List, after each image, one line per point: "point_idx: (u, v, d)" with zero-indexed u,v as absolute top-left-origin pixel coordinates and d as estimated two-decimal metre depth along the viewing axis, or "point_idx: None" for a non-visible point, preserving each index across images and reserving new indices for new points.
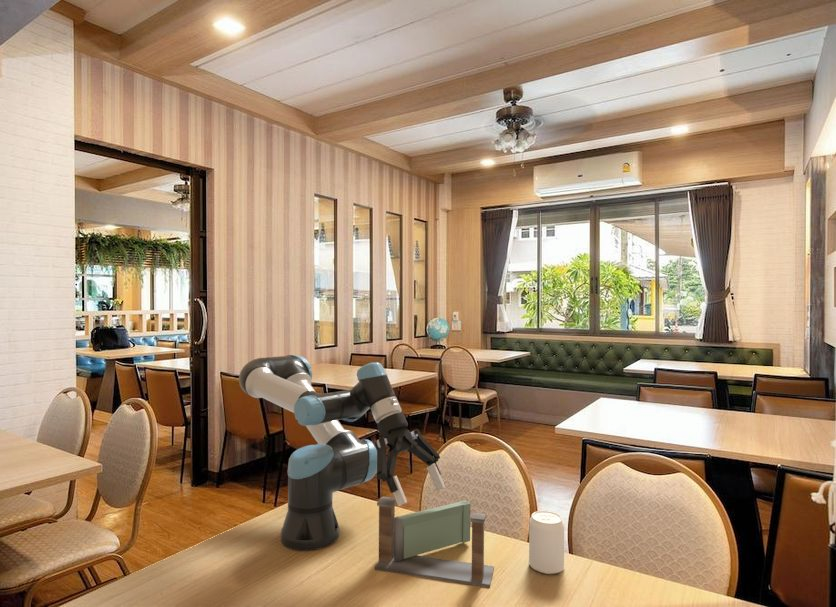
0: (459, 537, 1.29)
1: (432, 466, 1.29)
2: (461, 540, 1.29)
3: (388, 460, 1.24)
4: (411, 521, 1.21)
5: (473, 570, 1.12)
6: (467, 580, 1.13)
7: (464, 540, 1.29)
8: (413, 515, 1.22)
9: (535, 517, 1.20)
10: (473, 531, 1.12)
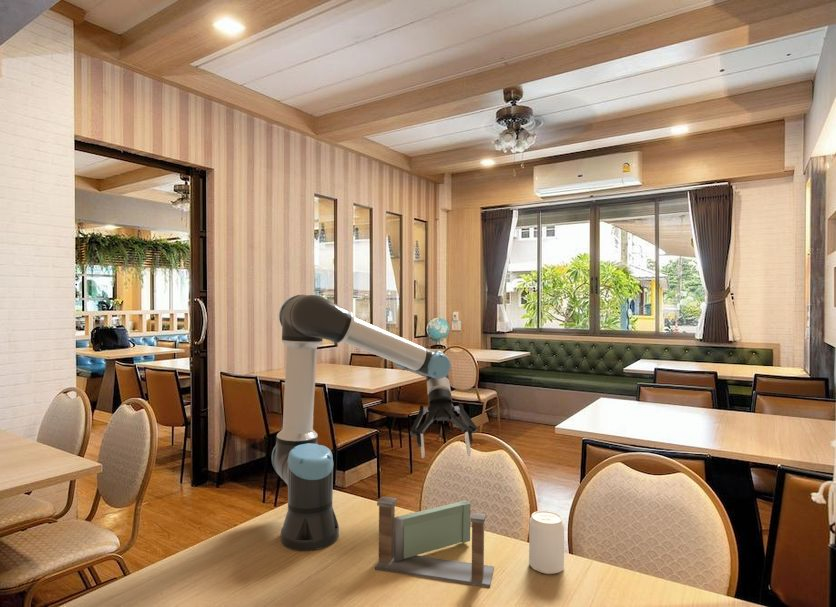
0: (459, 537, 1.29)
1: None
2: (461, 540, 1.29)
3: None
4: (411, 521, 1.21)
5: (473, 570, 1.12)
6: (467, 580, 1.13)
7: (464, 540, 1.29)
8: (413, 515, 1.22)
9: (535, 517, 1.20)
10: (473, 531, 1.12)
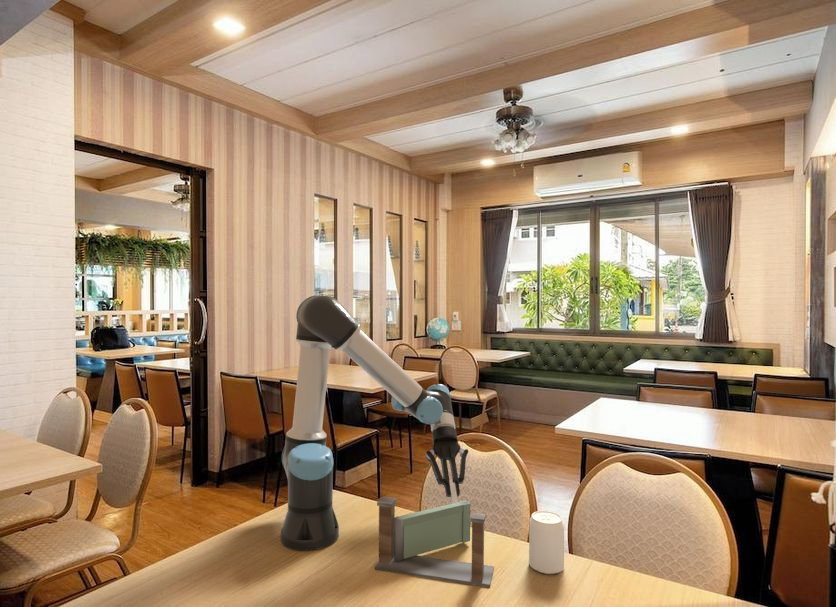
0: (459, 537, 1.29)
1: None
2: (461, 540, 1.29)
3: None
4: (411, 521, 1.21)
5: (473, 570, 1.12)
6: (467, 580, 1.13)
7: (464, 540, 1.29)
8: (413, 515, 1.22)
9: (535, 517, 1.20)
10: (473, 531, 1.12)
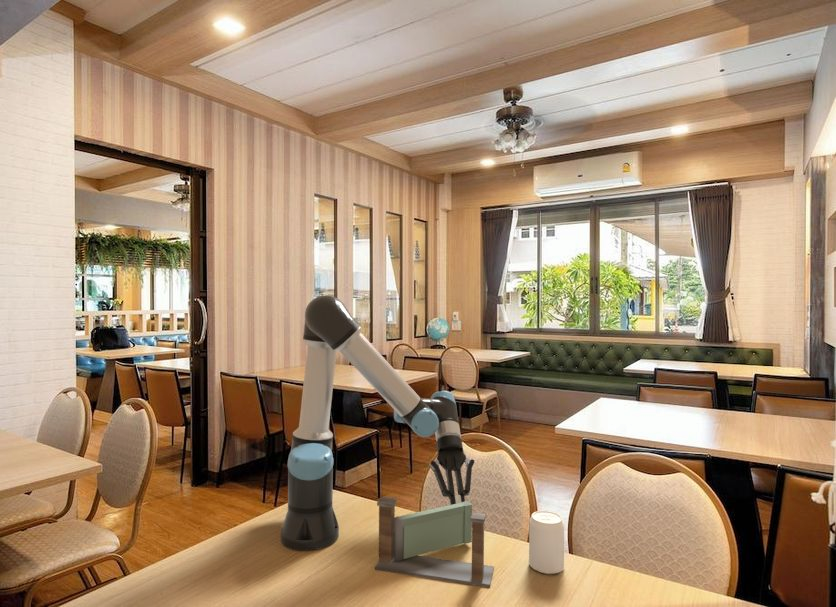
0: (460, 538, 1.29)
1: None
2: (462, 541, 1.29)
3: None
4: (411, 521, 1.21)
5: (473, 570, 1.12)
6: (467, 580, 1.13)
7: (465, 541, 1.29)
8: (413, 515, 1.22)
9: (535, 517, 1.20)
10: (473, 531, 1.12)
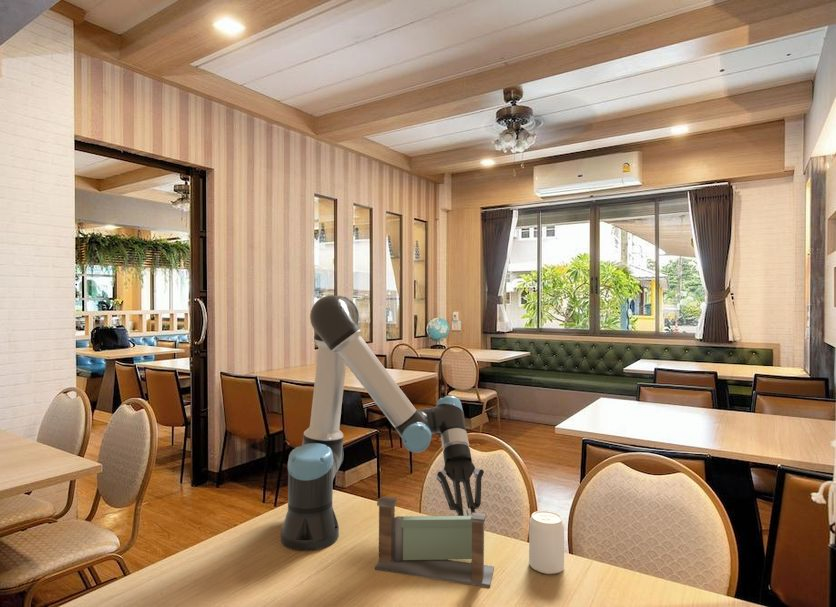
0: (470, 553, 1.21)
1: None
2: None
3: None
4: (411, 524, 1.20)
5: (473, 570, 1.12)
6: (467, 580, 1.13)
7: None
8: (414, 518, 1.21)
9: (535, 517, 1.20)
10: (473, 531, 1.12)
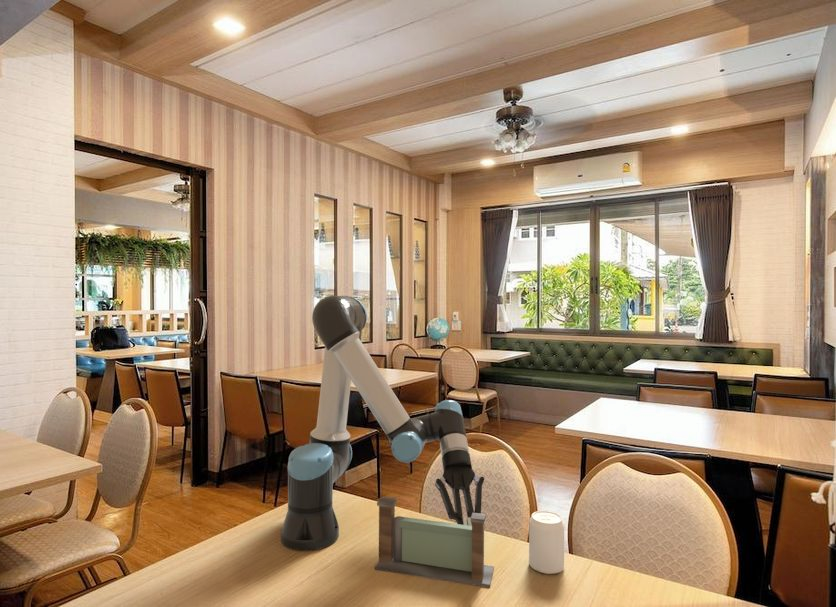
0: (469, 565, 1.16)
1: None
2: (471, 569, 1.15)
3: None
4: (409, 525, 1.19)
5: (473, 570, 1.12)
6: (467, 580, 1.13)
7: None
8: (413, 520, 1.19)
9: (535, 517, 1.20)
10: (473, 531, 1.12)
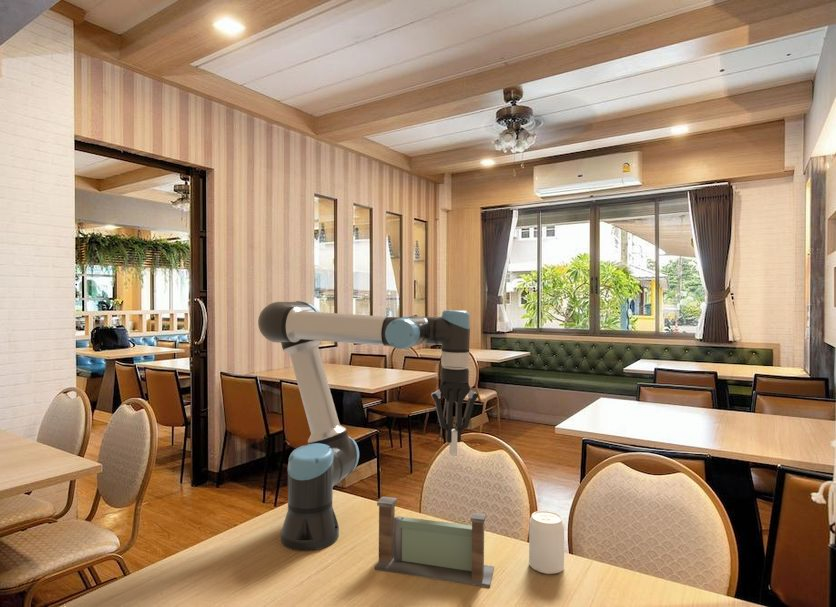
0: (469, 564, 1.16)
1: None
2: None
3: None
4: (409, 525, 1.19)
5: (473, 570, 1.12)
6: (467, 580, 1.13)
7: None
8: (413, 520, 1.20)
9: (535, 517, 1.20)
10: (473, 531, 1.12)
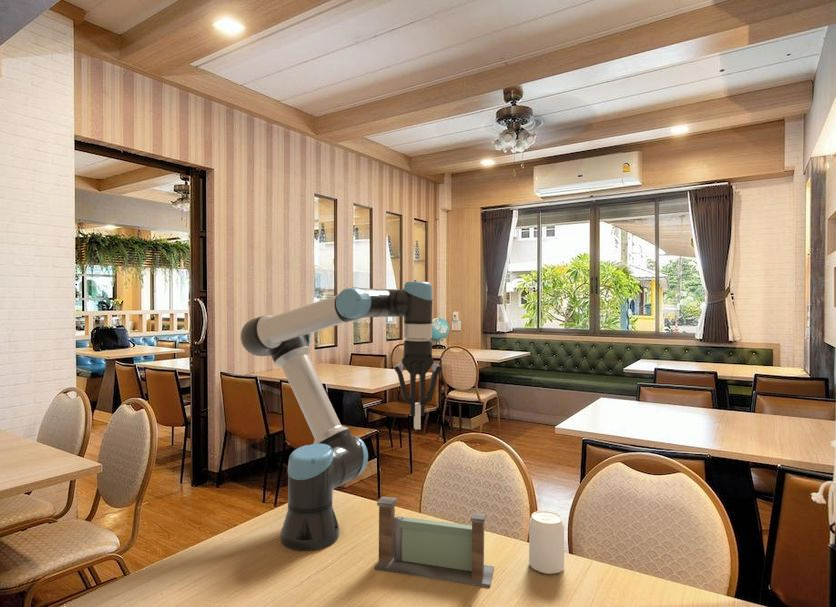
0: (469, 564, 1.16)
1: None
2: None
3: (424, 385, 1.33)
4: (409, 525, 1.19)
5: (473, 570, 1.12)
6: (467, 580, 1.13)
7: None
8: (413, 520, 1.20)
9: (535, 517, 1.20)
10: (473, 531, 1.12)
